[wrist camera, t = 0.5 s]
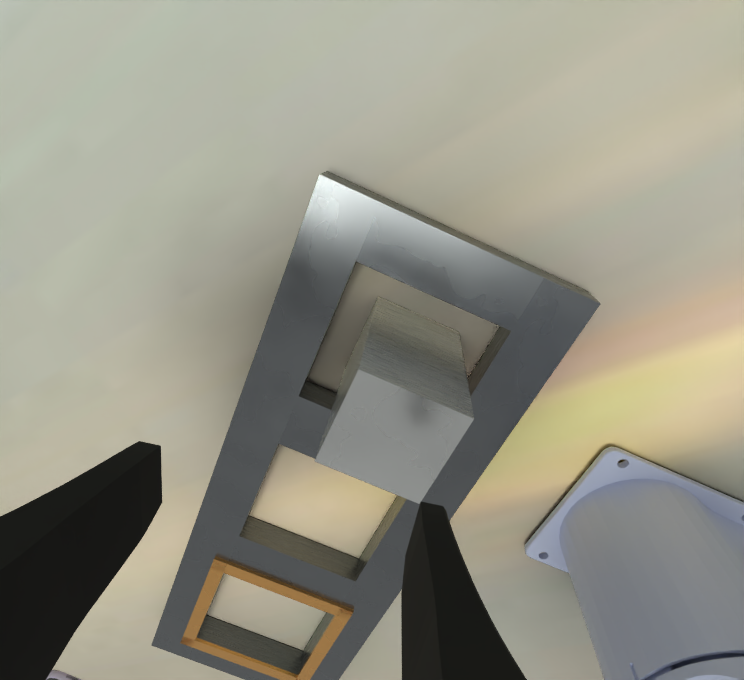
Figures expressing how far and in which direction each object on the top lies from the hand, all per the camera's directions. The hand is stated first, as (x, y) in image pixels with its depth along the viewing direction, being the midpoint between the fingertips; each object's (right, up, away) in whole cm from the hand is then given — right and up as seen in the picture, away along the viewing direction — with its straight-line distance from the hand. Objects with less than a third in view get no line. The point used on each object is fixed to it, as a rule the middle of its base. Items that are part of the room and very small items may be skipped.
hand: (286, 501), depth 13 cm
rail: (0, -4, +13) cm, 14 cm away
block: (+4, +4, +9) cm, 11 cm away
